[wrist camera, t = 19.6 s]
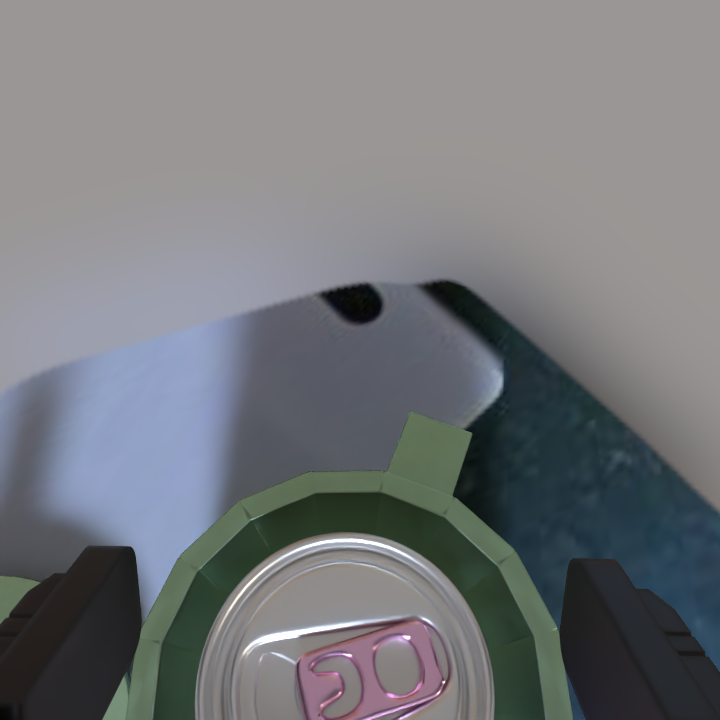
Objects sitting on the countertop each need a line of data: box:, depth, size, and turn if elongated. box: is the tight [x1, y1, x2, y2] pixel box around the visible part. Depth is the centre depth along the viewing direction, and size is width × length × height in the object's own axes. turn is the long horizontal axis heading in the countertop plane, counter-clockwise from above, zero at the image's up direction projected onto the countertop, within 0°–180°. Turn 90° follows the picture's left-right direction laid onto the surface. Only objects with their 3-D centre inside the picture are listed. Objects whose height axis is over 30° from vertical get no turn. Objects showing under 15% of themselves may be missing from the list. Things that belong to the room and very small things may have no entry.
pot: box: [125, 411, 573, 720], centre depth 21 cm, size 13×18×8 cm
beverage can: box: [195, 532, 495, 720], centre depth 18 cm, size 6×6×15 cm
